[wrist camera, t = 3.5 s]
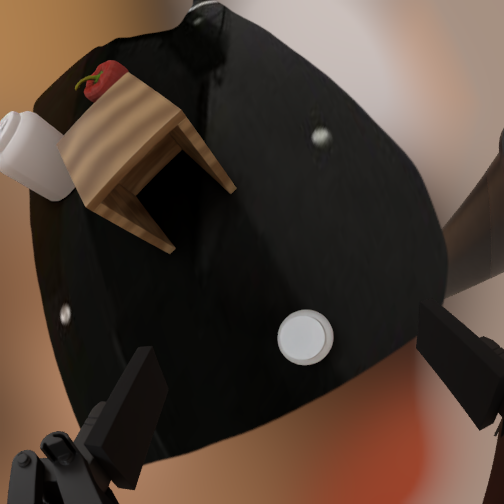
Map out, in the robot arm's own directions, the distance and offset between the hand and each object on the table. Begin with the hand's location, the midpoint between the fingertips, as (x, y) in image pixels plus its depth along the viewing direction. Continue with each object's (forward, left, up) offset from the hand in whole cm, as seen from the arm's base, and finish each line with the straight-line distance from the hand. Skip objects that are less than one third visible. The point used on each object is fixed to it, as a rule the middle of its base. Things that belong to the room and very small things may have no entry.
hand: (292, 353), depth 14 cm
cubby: (+24, -17, -22) cm, 37 cm away
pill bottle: (+1, -1, -22) cm, 22 cm away
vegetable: (+49, -40, -22) cm, 67 cm away
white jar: (+54, -20, -22) cm, 62 cm away
